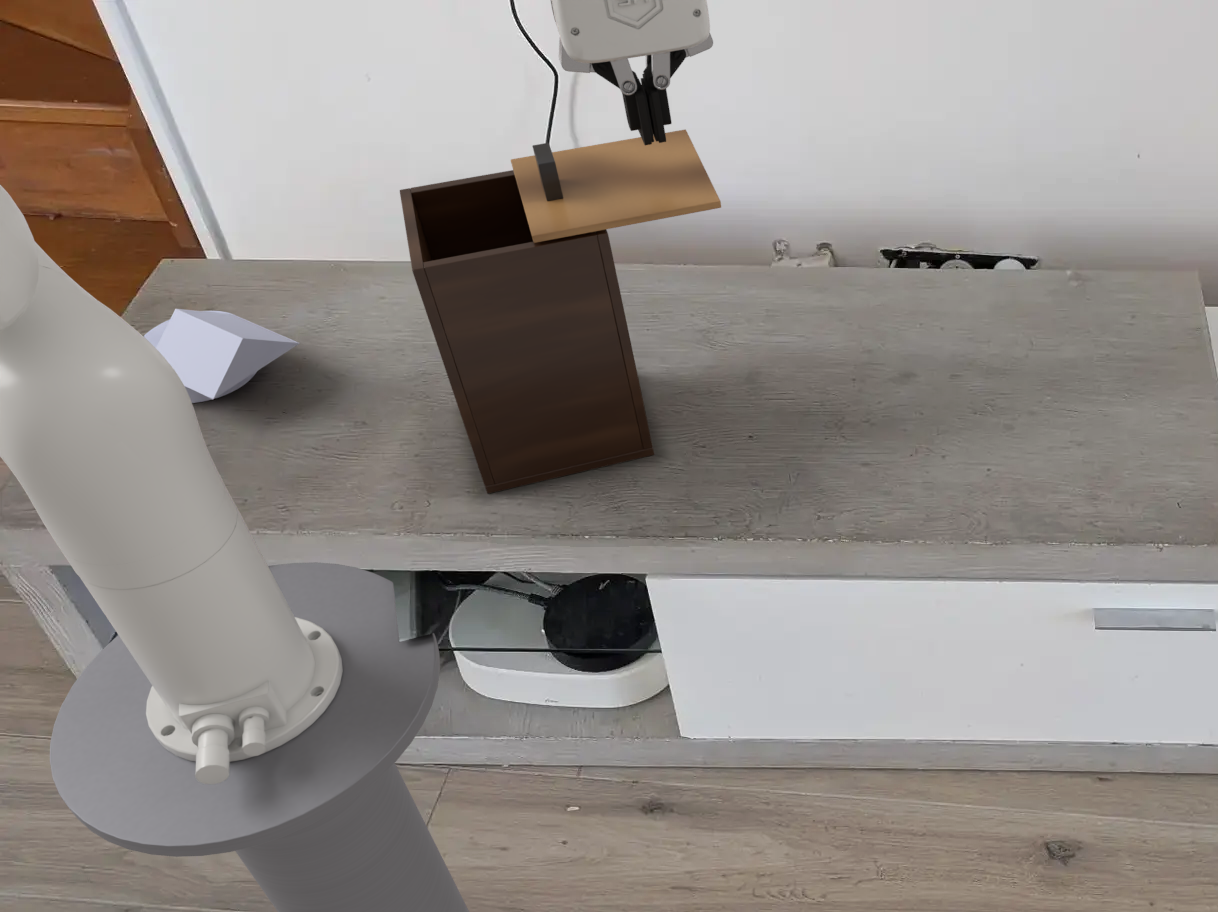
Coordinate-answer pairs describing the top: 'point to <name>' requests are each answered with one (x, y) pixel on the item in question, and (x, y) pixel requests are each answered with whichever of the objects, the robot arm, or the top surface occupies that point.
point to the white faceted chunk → (215, 350)
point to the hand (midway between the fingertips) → (651, 134)
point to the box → (525, 333)
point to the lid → (611, 185)
